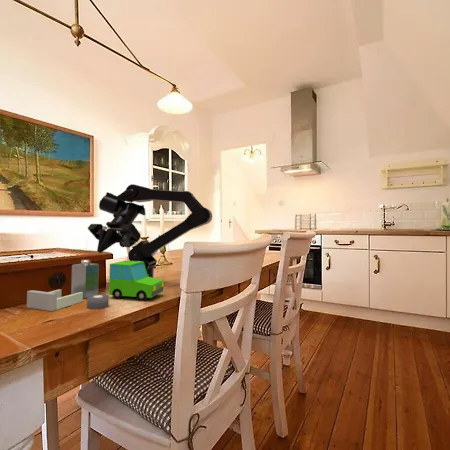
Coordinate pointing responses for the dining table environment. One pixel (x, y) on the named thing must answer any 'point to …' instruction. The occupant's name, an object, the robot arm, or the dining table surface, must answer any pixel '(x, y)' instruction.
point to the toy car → (132, 281)
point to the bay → (51, 300)
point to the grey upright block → (85, 278)
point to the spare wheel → (97, 301)
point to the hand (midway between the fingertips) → (98, 252)
